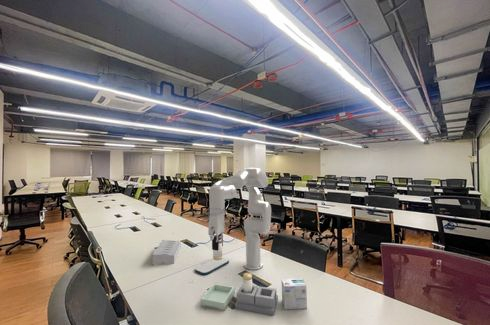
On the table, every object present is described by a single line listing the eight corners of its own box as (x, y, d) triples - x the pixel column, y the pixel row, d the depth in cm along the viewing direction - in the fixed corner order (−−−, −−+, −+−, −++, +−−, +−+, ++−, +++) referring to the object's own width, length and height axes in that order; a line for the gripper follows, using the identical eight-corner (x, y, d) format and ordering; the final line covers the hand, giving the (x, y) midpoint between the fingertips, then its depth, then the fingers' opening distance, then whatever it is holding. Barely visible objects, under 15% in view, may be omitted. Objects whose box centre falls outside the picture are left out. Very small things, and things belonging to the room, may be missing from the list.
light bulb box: (303, 300, 105) (302, 277, 105) (307, 309, 98) (307, 285, 98) (281, 300, 104) (280, 278, 105) (284, 310, 98) (283, 285, 98)
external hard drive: (205, 277, 129) (204, 273, 129) (192, 271, 136) (192, 268, 136) (230, 262, 148) (230, 260, 148) (218, 258, 155) (218, 256, 155)
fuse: (244, 294, 106) (244, 272, 107) (253, 296, 105) (253, 273, 105) (242, 299, 102) (241, 276, 103) (251, 301, 101) (250, 277, 101)
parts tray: (213, 290, 115) (213, 283, 115) (235, 293, 111) (234, 286, 111) (200, 306, 101) (200, 298, 101) (224, 310, 98) (224, 303, 98)
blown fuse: (215, 256, 109) (215, 234, 109) (223, 257, 108) (223, 235, 108) (211, 259, 105) (211, 237, 105) (220, 260, 103) (219, 237, 104)
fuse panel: (242, 293, 111) (242, 281, 111) (277, 299, 105) (277, 287, 106) (235, 308, 99) (234, 295, 99) (273, 315, 94) (273, 301, 94)
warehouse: (174, 264, 148) (174, 252, 148) (152, 265, 146) (152, 254, 146) (180, 248, 178) (180, 238, 178) (162, 249, 176) (162, 240, 176)
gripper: (217, 207, 116) (217, 241, 116) (202, 214, 100) (202, 253, 100) (230, 208, 114) (230, 243, 113) (216, 214, 98) (217, 255, 97)
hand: (217, 247), depth 106 cm, fingers closed on blown fuse, 4 cm apart
